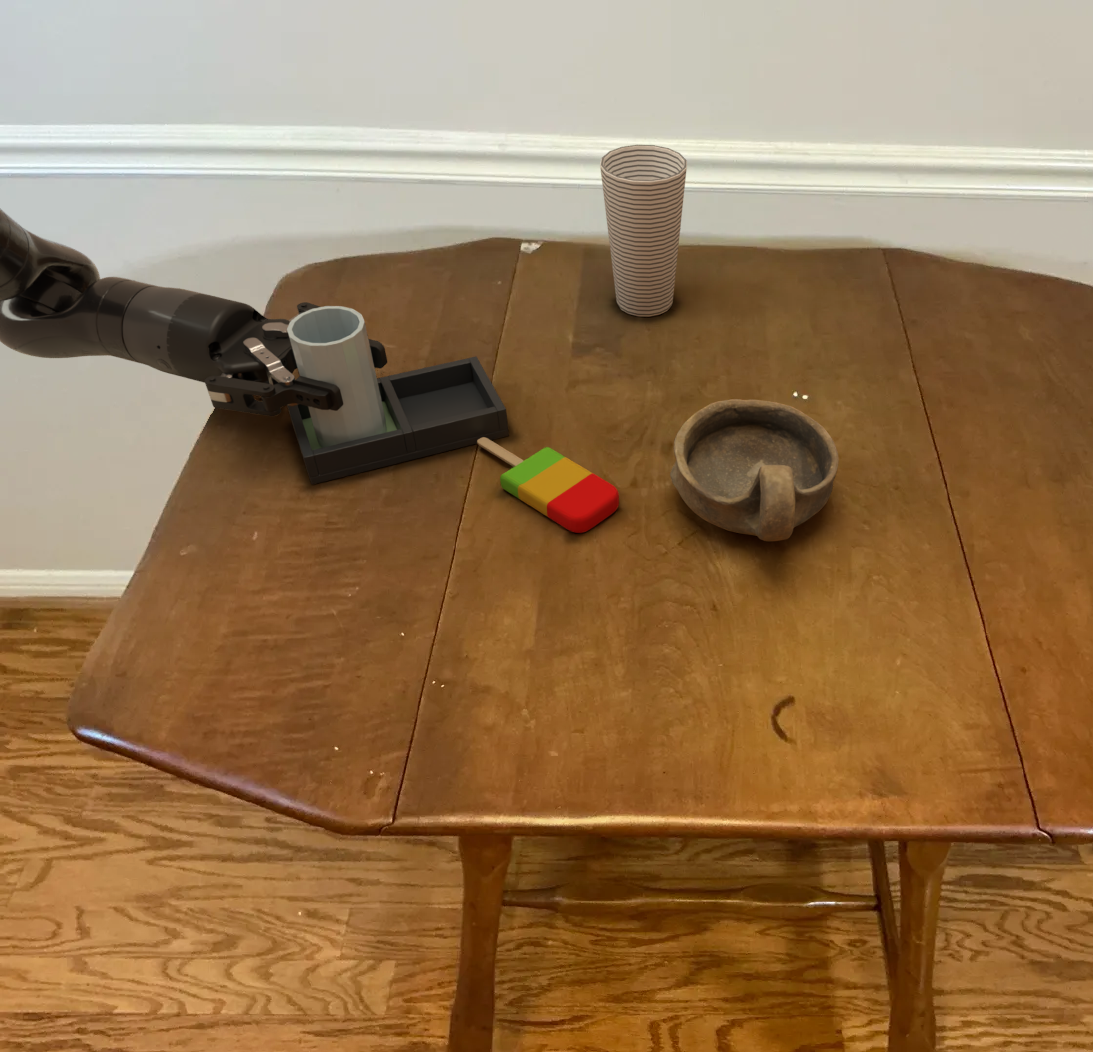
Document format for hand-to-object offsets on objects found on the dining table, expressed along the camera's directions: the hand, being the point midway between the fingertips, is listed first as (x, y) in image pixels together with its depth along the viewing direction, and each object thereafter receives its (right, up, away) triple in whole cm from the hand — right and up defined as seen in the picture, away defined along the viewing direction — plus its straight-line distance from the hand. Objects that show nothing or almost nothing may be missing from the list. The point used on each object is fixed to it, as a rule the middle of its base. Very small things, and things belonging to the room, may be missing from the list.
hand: (361, 377), depth 90 cm
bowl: (+33, -12, 0) cm, 35 cm away
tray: (+1, -4, +7) cm, 8 cm away
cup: (+22, +11, +25) cm, 35 cm away
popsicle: (+15, -9, +2) cm, 17 cm away
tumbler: (-2, -4, +5) cm, 7 cm away
